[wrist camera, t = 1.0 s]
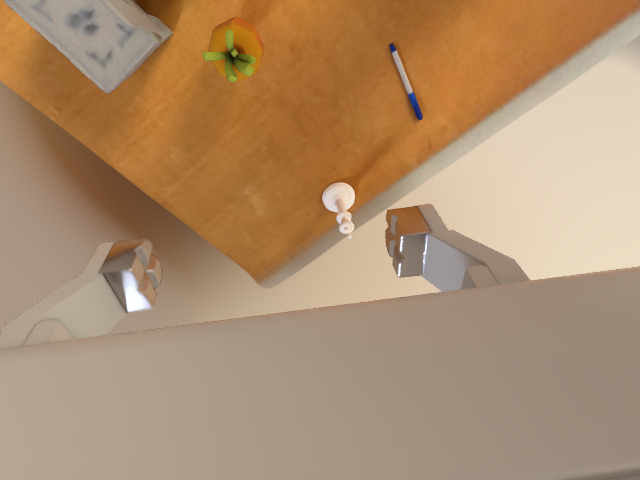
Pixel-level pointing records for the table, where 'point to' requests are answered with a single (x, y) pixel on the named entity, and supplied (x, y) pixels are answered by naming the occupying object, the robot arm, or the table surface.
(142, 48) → the incense holder
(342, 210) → the chess piece
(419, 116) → the ballpoint pen
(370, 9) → the table surface
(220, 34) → the carrot
